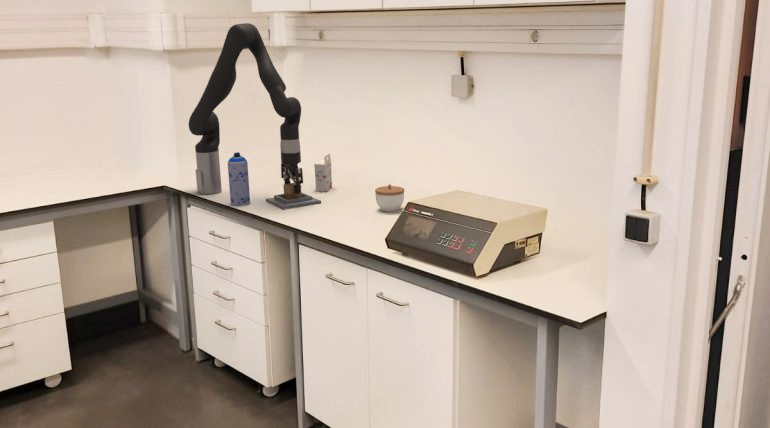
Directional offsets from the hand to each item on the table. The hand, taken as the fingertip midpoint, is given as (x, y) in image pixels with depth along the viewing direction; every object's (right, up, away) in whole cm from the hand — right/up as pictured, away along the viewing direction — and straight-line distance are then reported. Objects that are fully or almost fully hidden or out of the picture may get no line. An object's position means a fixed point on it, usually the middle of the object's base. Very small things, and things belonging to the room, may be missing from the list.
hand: (292, 191), depth 277 cm
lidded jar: (+38, -7, -12) cm, 40 cm away
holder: (0, -4, +1) cm, 4 cm away
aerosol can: (-20, -5, 0) cm, 21 cm away
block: (0, -3, +1) cm, 3 cm away
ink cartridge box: (+10, +1, +21) cm, 24 cm away
